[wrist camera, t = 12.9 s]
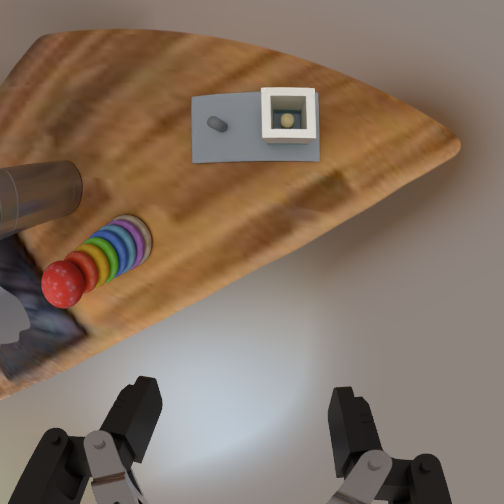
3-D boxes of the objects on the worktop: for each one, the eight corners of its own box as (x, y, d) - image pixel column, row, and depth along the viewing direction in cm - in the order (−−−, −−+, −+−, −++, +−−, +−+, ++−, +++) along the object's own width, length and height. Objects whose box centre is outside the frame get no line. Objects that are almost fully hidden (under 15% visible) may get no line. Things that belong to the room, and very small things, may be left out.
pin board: (195, 163, 37) (179, 163, 31) (194, 98, 34) (178, 88, 28) (318, 161, 35) (325, 161, 29) (317, 94, 32) (323, 82, 26)
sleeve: (267, 144, 34) (262, 137, 24) (267, 107, 33) (261, 87, 23) (306, 145, 33) (315, 138, 24) (306, 107, 32) (314, 88, 23)
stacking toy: (103, 220, 41) (16, 258, 23) (145, 208, 39) (59, 245, 22) (118, 267, 43) (42, 325, 25) (160, 260, 41) (88, 323, 24)
